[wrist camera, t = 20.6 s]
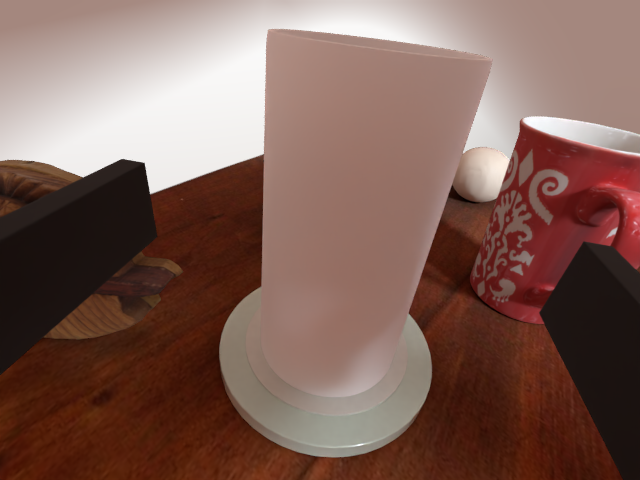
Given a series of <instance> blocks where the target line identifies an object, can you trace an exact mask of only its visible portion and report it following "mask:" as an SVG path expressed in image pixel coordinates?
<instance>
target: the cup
mask: <svg viewBox="0 0 640 480" xmlns="http://www.w3.org/2000/svg"><path fill="white" fill-rule="evenodd" d="M491 65H492V59H491V58H488V57H485V56H481V55H477V54H472V53H467V52H461V51H456V50H450V49H443V48H437V47H431V46H424V45H417V44H410V43H403V42H396V41H389V40H380V39H373V38H365V37H357V36H349V35H339V34H331V33H322V32H311V31H301V30H288V29H270V30H268V34H267V45H266V88H265V136H264V186H263V237H262V287H261V348H262V352H263V354H264V357H265V359H266V361H267V363H268V364H269V366H270V367H271V369H272V370H273V371H274V372H275V373H276V374H277V375H278V376H279V377H280V378H281V379H282V380H283V381H285V382H286V383H288V384H289V385H291V386H292V387H294V388H296V389H298V390H300V391H303V392H305V393H309V394H312V395H316V396H321V397H347V396H352V395H356V394H359V393H361V392H364V391H366V390H368V389H370V388H371V387H373V386H374V385H376V384H377V383H378V382H379V381H380V380H381V379H382V378H383V377H384V376H385V374H386V373H387V371H388V370H389V368H390V365H391V363H392V360H393V357H394V354H395V351H396V348H397V345H398V342H399V339H400V336H401V333H402V330H403V327H404V324H405V321H406V318H407V316H408V313H409V310H410V307H411V304H412V301H413V298H414V295H415V292H416V289H417V286H418V283H419V280H420V277H421V274H422V271H423V268H424V265H425V262H426V259H427V257H428V254H429V251H430V248H431V245H432V242H433V239H434V236H435V233H436V230H437V227H438V224H439V221H440V218H441V215H442V212H443V209H444V206H445V203H446V200H447V197H448V195H449V192H450V189H451V186H452V183H453V180H454V177H455V174H456V171H457V168H458V165H459V162H460V159H461V156H462V153H463V150H464V147H465V144H466V141H467V138H468V135H469V132H470V129H471V126H472V124H473V121H474V117H475V115H476V112H477V109H478V106H479V103H480V100H481V97H482V94H483V90H484V88H485V85H486V82H487V79H488V76H489V73H490V69H491Z"/></svg>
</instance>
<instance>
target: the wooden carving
mask: <svg viewBox="0 0 640 480" xmlns="http://www.w3.org/2000/svg"><path fill="white" fill-rule="evenodd" d="M81 178H83V177H80V176H78V175H75V174H72V173H69V172H66V171H64V170H61V169H59V168H57V167H54V166H52V165H49V164H45V163H40V162H35V161H22V160H7V161H6V160H5V161H0V217H2V216H4V215H7V214H9V213H11V212H13V211H15V210H17V209H19V208H21V207H23V206H25V205H27V204H29V203H31V202H34V201H36V200H38V199H40V198H42V197H44V196H46V195H48V194H50V193H52V192H54V191H56V190H59V189H61V188H63V187H65V186H67V185H69V184H71V183H73V182H75V181H77V180H79V179H81ZM182 272H183V271H182V269H181V268H180V267H179V266H178V265H177V264H175V263H174V262H173V261H171V260H168V259H164V258H154V257H146V256H144V255H143V253H142V251H141V252H140V253H138V254H137V255H136V256H135V257H134V258H133V259H132V260H130V261H129V262H128V263H127V264H126V265H125V266H124V267H122V268H121V269H120V270H119V271H118V272H117V273H116V274H114V275H113V276H112V277H111V278H110V279H109V280H108V281H107V282H105V283H104V284H103V285H102V286H101V287H100V288H99V289H97V290H96V291H95V292H94V293H93V294H92V295H91V296H89V297H88V298H87V299H86V300H85V301H84V302H83V303H82V304H80V305H79V306H78V307H77V308H76V309H75V310H74V311H72V312H71V313H70V314H69V315H68V316H67V317H66V318H64V319H63V320H62V321H61V322H60V323H59V324H58V325H57V326H55V327H54V328H53V329H52V330H51V331H50V332H49V333H47V334H46V335H45V336H44V337H43V338H54V339H77V340H79V339H84V338H95V337H99V336H103V335H107V334H111V333H114V332H117V331H119V330H124V329H126V328H129V327H131V326H133V325H134V324H136V323H138V322H140V321H141V320H142V319H143V318H144V317H145V315H146V314H147V313H148V312H149V311H150V310H151V309H153V308H154V307H155V306H156V305H157V303H158V302H160V301H161V298H160V295H159V294H158V293H160V292H161V291H162V290H163V289H164V287H165V286H166V285H167V284H168V282H169V281H170V280H171V279H173V278H175V277H177V276H179V275H180V274H181V273H182Z"/></svg>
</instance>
